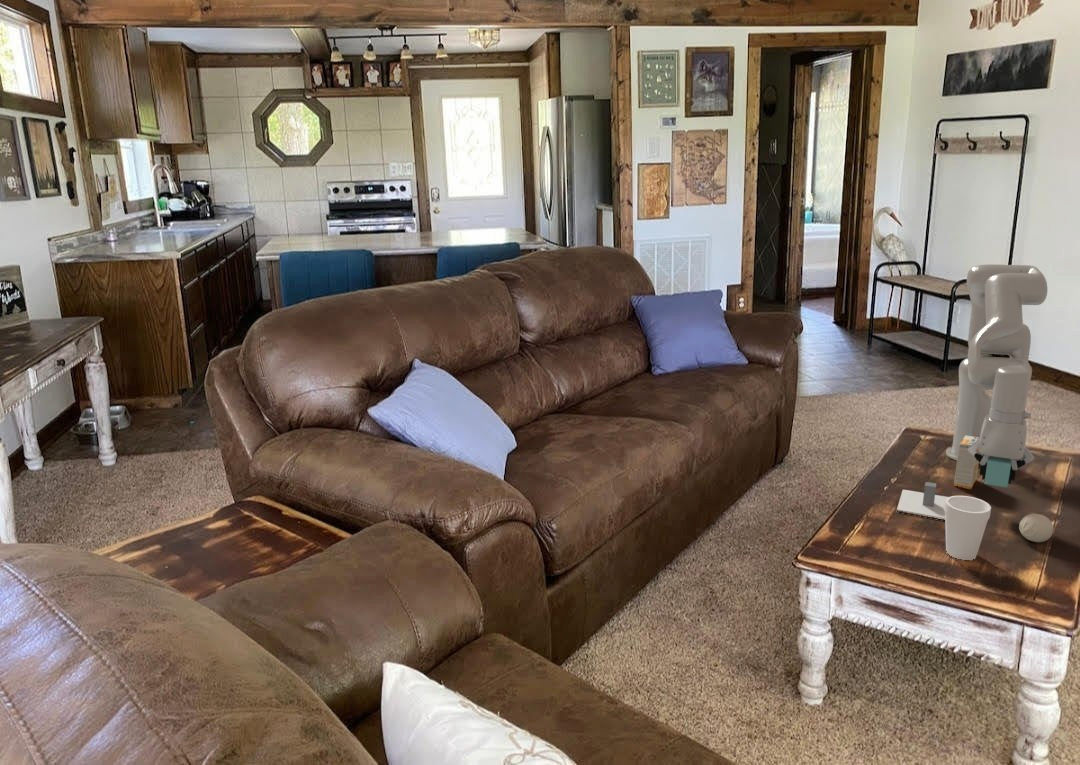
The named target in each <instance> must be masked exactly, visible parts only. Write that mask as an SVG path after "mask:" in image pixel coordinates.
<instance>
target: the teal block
mask: <svg viewBox="0 0 1080 765" xmlns="http://www.w3.org/2000/svg"><path fill="white" fill-rule="evenodd" d="M1010 468H1011V460H1010V459H1006V458H999V457H992V456H990V457H989V458H988V460H987V468H986V475H985V479H984V481H983V482H984V485H989V486H997V487H1002V488H1008V486H1009V484H1008V481H1009V474H1010Z"/></svg>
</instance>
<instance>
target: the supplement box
mask: <svg viewBox="0 0 1080 765" xmlns="http://www.w3.org/2000/svg"><path fill="white" fill-rule="evenodd" d="M979 439H980V438H979V437H973V436H966V435H965V436H964V437H963V439H962V440H961V442H960V443H959V449H958V457H957V461H956V467H955V472H954V481H953V487H957V486H958V488H961V487H962V488H961V489H967V490H972V488H973V486H974V484H975V483H976V481H977V478H978V472H979V465H980V464H979V461H978V460H977V459H976V458H975V457H974V456H973V455H972V454H971V453H970V452H969V451H968V447H970V446H971V445H972V444H974V443H975V442H976V441H978V440H979ZM976 451H977V452H979V447H978V448H977V449H976Z"/></svg>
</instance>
